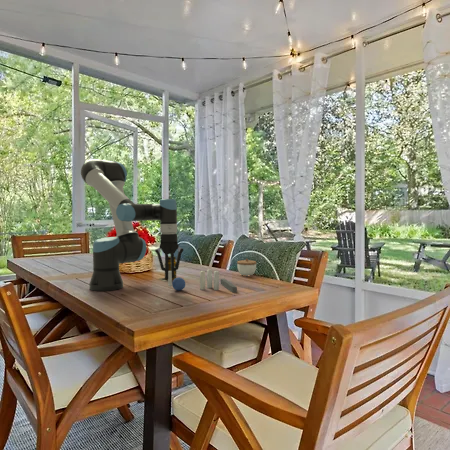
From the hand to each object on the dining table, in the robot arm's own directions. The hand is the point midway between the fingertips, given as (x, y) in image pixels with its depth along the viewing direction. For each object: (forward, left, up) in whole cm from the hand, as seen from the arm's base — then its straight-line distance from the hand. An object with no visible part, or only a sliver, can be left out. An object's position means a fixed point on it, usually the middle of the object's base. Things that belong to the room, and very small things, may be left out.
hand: (170, 285), depth 169 cm
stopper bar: (+28, +1, -3) cm, 28 cm away
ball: (+4, +2, 0) cm, 5 cm away
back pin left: (+19, +4, -3) cm, 20 cm away
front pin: (+15, +1, -3) cm, 16 cm away
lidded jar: (+47, +30, -3) cm, 56 cm away
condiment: (+3, +28, -3) cm, 29 cm away
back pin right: (+21, -1, -3) cm, 22 cm away
